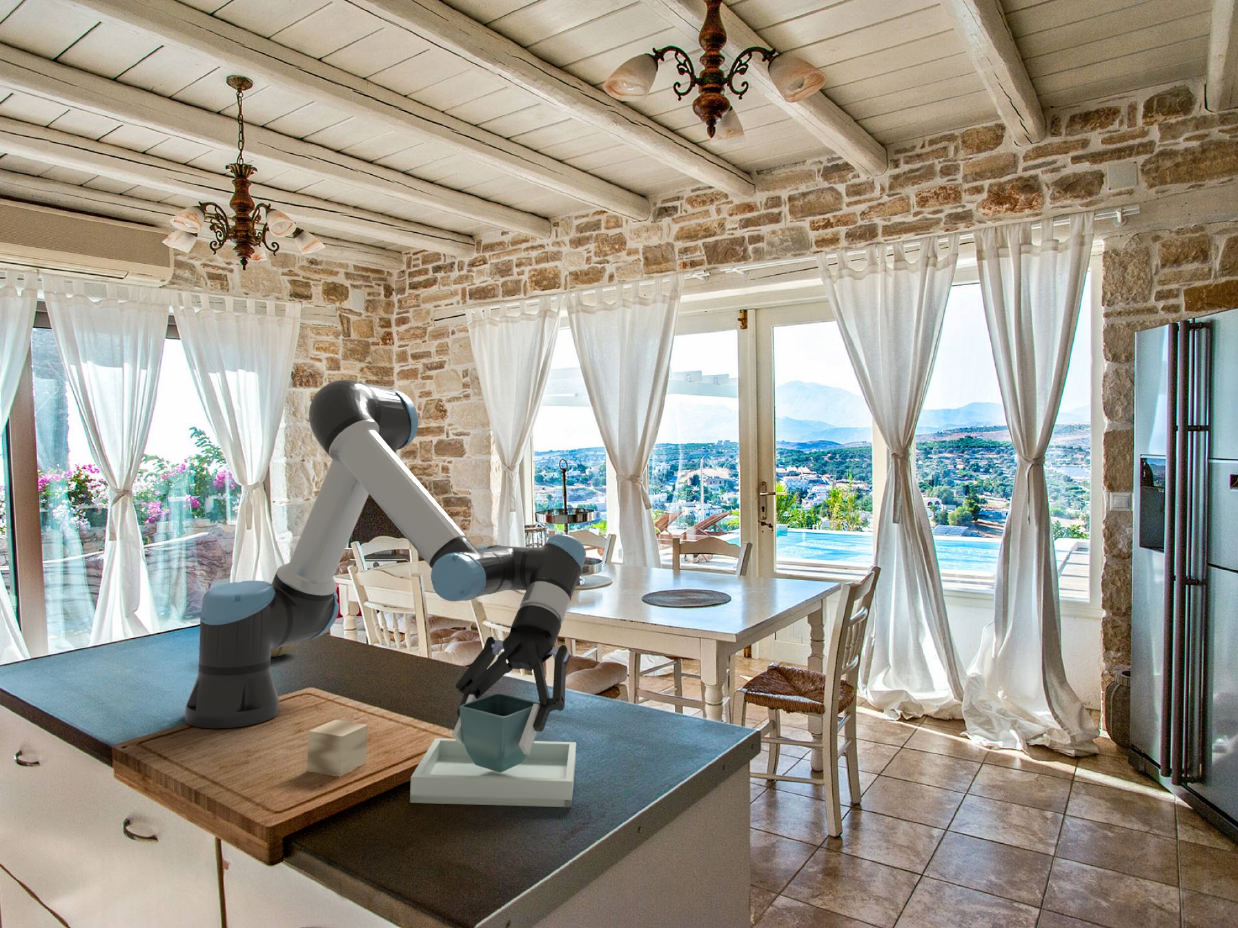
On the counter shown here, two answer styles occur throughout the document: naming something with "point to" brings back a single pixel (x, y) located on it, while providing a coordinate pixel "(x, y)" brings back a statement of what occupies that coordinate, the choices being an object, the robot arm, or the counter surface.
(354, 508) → the robot arm
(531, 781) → the tray
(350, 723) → the beech block
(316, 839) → the counter surface
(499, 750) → the flower pot
